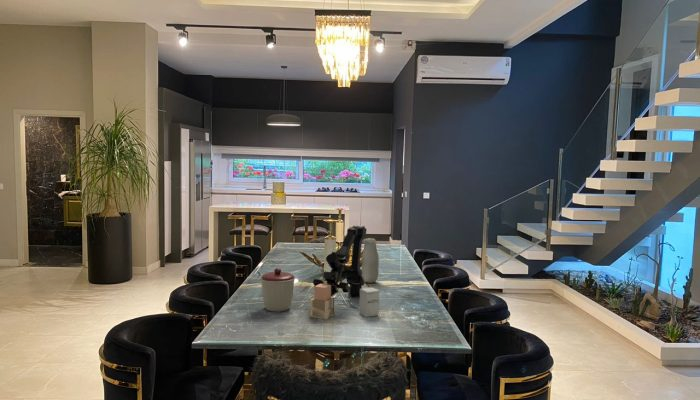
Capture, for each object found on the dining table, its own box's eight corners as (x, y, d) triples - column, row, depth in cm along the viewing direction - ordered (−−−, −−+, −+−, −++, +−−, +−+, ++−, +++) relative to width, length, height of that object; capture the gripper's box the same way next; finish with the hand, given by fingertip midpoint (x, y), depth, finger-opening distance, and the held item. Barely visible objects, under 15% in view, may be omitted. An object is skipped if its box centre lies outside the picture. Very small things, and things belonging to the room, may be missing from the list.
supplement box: (366, 317, 243) (366, 292, 242) (359, 313, 250) (359, 288, 249) (379, 315, 247) (379, 290, 246) (371, 311, 253) (372, 286, 252)
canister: (293, 302, 266) (293, 263, 264) (297, 313, 248) (297, 271, 247) (259, 304, 262) (259, 265, 260) (260, 315, 244) (260, 273, 243)
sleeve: (317, 312, 251) (317, 295, 250) (334, 314, 247) (334, 297, 246) (310, 316, 244) (310, 299, 243) (327, 319, 240) (327, 301, 239)
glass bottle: (371, 279, 318) (372, 236, 316) (381, 283, 310) (381, 238, 307) (358, 281, 313) (359, 237, 310) (368, 285, 304) (368, 239, 302)
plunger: (320, 311, 249) (320, 283, 248) (330, 312, 247) (331, 285, 246) (314, 314, 244) (314, 286, 243) (325, 316, 241) (325, 287, 240)
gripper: (314, 263, 255) (303, 289, 246) (347, 266, 247) (337, 294, 238) (321, 274, 263) (311, 300, 254) (353, 278, 255) (344, 305, 246)
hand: (325, 300), depth 248 cm, fingers closed, pressing on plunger
